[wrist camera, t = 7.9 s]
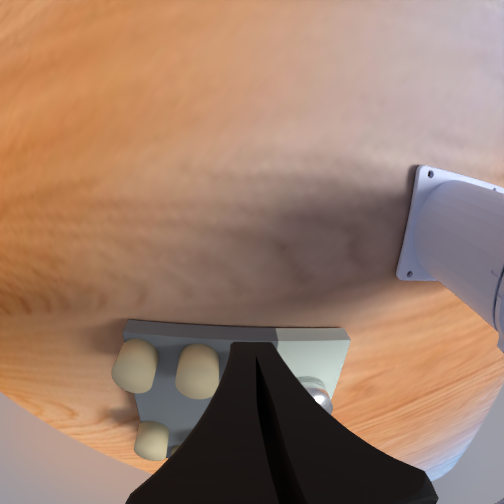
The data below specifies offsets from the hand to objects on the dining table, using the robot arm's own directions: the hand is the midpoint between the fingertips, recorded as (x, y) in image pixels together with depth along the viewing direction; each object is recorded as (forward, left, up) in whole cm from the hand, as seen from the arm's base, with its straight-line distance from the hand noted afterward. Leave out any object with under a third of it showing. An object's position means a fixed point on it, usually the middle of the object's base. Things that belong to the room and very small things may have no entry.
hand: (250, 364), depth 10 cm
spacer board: (0, +12, -9) cm, 15 cm away
